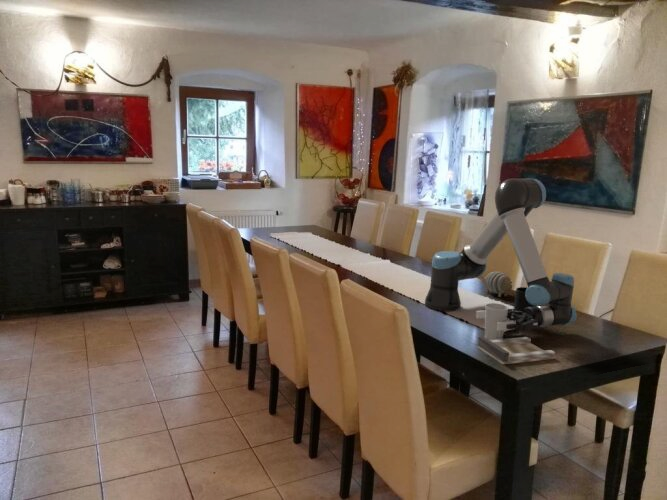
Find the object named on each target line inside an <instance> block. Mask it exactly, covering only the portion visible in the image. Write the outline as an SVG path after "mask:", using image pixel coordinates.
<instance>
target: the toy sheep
mask: <svg viewBox="0 0 667 500" xmlns="http://www.w3.org/2000/svg"><path fill="white" fill-rule="evenodd" d="M483 280H484V282H485V286H486V292H485V293H487V294H489V293H493V294H496V295H497V294H498V295H497V297H498V298H501V297H502V294H503V296H504V297H507V296H508V291H512V289H513V284H512V283H513V281H511V280H512V279H511V277H510V276H508V275H507V273H503V272H502V271H492V272H489V273H488V274H487V275H486V276H484V277H483Z"/></svg>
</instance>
